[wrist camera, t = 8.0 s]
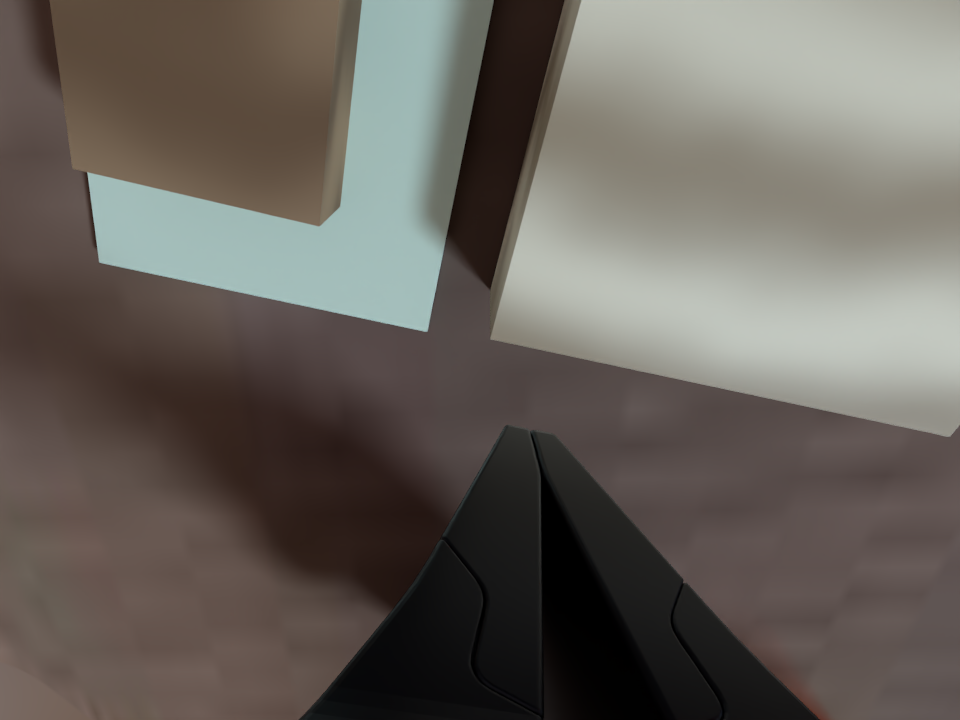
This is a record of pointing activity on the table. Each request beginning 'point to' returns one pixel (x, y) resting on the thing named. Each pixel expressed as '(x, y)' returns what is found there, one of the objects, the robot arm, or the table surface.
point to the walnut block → (213, 97)
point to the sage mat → (365, 191)
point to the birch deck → (748, 201)
